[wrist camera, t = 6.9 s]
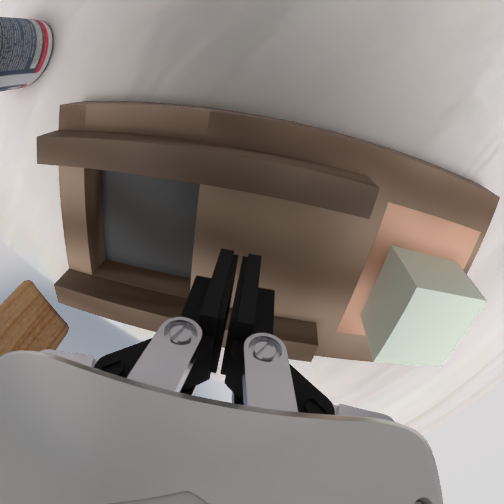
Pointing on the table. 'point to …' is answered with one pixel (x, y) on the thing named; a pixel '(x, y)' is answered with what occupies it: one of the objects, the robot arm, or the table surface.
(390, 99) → the table surface
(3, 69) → the pill bottle
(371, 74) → the table surface
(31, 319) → the decorative item
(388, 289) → the sage block
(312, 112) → the table surface
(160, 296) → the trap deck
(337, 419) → the robot arm
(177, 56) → the table surface
